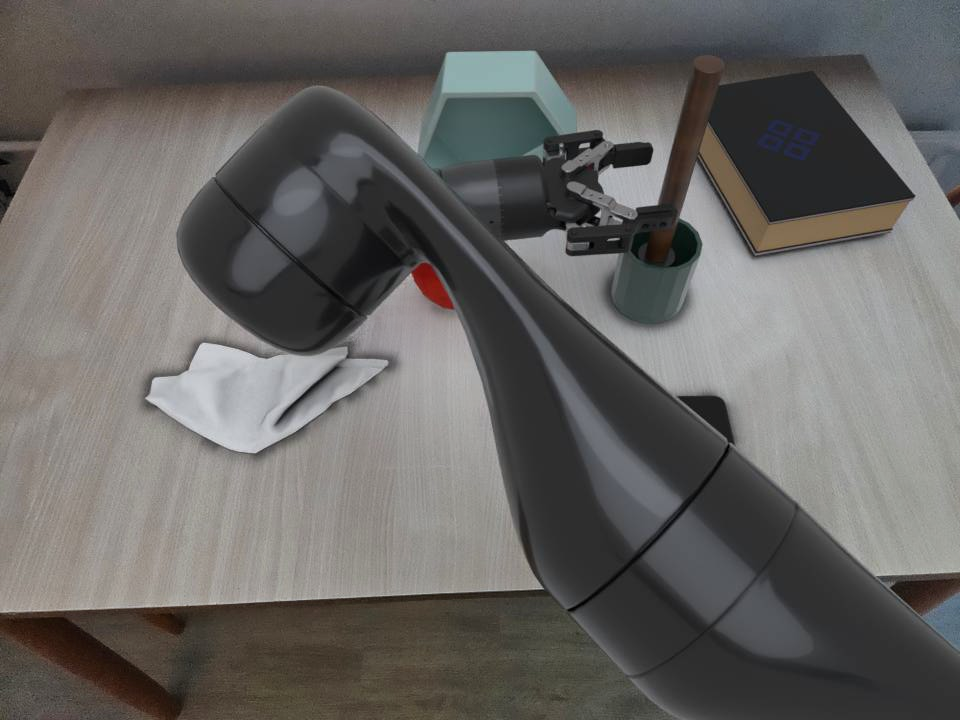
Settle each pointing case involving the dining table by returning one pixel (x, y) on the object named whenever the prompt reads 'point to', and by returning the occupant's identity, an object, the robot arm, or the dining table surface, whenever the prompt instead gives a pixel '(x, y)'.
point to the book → (797, 166)
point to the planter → (492, 108)
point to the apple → (431, 285)
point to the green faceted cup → (656, 278)
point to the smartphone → (711, 413)
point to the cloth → (257, 393)
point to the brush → (684, 154)
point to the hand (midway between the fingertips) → (662, 182)
